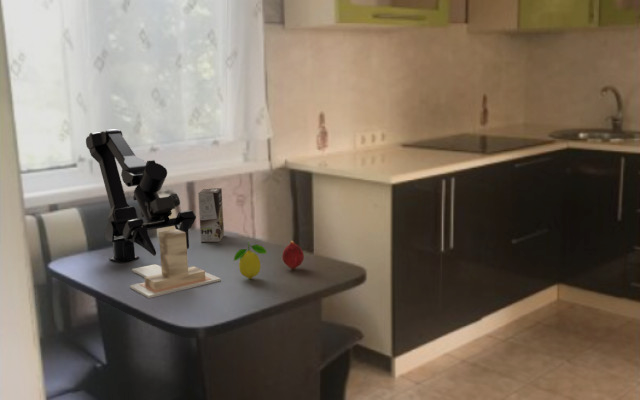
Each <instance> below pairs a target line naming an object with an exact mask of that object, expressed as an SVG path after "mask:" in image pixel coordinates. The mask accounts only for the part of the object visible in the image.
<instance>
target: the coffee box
mask: <svg viewBox="0 0 640 400" xmlns="http://www.w3.org/2000/svg"><path fill="white" fill-rule="evenodd" d="M222 193H223V191H222V187H221V188H219V187H218V188H216V187H215V188H203V189H201V190H200V191H199V192H198V209H199V210H198V211H199V214H198V215H199V227H200V230H199V231H200V242H201V243H206V242H207V243H209V242H216V243H217V242H221V241H222V239H223V237H224V236H225V228H224V227H225V226H224V225H225V223H224V211H223V210H224V209H223V208H224V206H223V194H222Z"/></svg>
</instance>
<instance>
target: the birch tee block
mask: <svg viewBox="0 0 640 400" xmlns="http://www.w3.org/2000/svg"><path fill="white" fill-rule="evenodd" d="M158 240H159V253H160V256H159V257H160V266H161V269H162V274H157V275H152V276H148V277H144V282H145V285H147V286H148V287H150V288H152V289H154V290H159V289H163V288H167V287H171V286H176V285H180V284H184V283H188V282H193V281H197V280H201V279H205V272H206V271H205V270H203V269H201V268H199V267H197V266H194V265H193V266H190V267H189V260H188V249H187V244H186V232H183V231H180V230H177V229H176V228H175V229H171V230H165V231H159V232H158Z"/></svg>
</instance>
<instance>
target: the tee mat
mask: <svg viewBox="0 0 640 400" xmlns="http://www.w3.org/2000/svg"><path fill="white" fill-rule="evenodd" d="M131 272H133V273H134V274H137V275H139V276H140V277H142V278H145V277H148V276H152V275H157V274H162V269H161V265H158V264H156V263H154V264H149V265H144V266H140V267H135V268H131ZM217 282H221V278H220V277H218V276H215V275H214V274H211V273H208V272H206V271H205V279H201V280H197V281H193V282H188V283H184V284H180V285H176V286H171V287H167V288H163V289H159V290H154V289H152V288H150V287H148V286H147V285H145V281H143V282H139V283H134V284H131V285H129V288H130V289H132V290H134V291H135V292H137V293H139V294H141V295H142V296H144V297H146V298H147V299H151V298H155V297H159V296H163V295H167V294H171V293H175V292H180V291H184V290H188V289H193V288H196V287H200V286H204V285H207V284H213V283H217Z"/></svg>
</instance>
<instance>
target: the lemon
mask: <svg viewBox="0 0 640 400" xmlns="http://www.w3.org/2000/svg"><path fill="white" fill-rule="evenodd" d="M250 247H251V248H252V250H253V251H254V252H253V251H252V250H251V249H250ZM267 252H268V251H266V249H265V247H263V245H260V244H254V245H250V242H249V241H248V242H247V248H241V249H239V250H238V251H237V252H236V253H235V255H234V258H233V262H235V261H238V260H239V263H238V267H239V268H238V269H239V272H240V274H241V275H242V276H244V277H245V278H247V279H248V280H251V279H253V278H254V277H256V276H257V275H259V273H260V271H261V260H260V258H259V255H257V254H256V253H258V254H262V255H263V254H267Z"/></svg>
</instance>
